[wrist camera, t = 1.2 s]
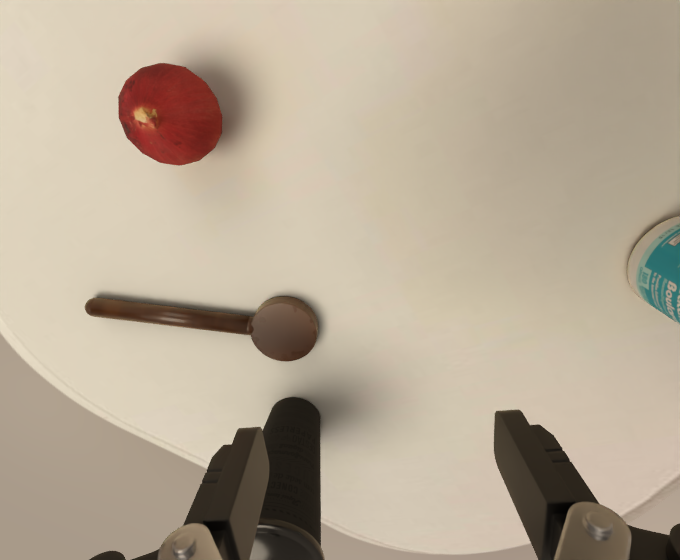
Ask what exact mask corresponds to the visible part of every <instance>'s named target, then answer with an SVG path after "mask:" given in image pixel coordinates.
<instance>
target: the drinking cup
mask: <svg viewBox="0 0 680 560" xmlns="http://www.w3.org/2000/svg"><path fill="white" fill-rule="evenodd" d="M262 432H263V437H264V441H265V446H266V451H267V455H268V460H269V480H268V484H267V488H266V493H265V497H264V501H263V505H262V509H261V514H260V518H259V522H258V526H257V530H256V535H255V539H254V543H253V547H252V551H251V556H250V560H324V555H323V551H322V549H321V527H320V526H321V502H320V414H319V412H318V410H317V408H316V407H315V406H314V405H313V404H312V403H310V402H309V401H307V400H304V399H301V398H286V399H283V400H281V401H279V402H278V403H276V404H275V405H274V407H273V408H272V410H271V412H270V415H269V417H268V419H267V422H266V424H265V427H264V429H263V431H262Z"/></svg>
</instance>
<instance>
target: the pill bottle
mask: <svg viewBox="0 0 680 560" xmlns="http://www.w3.org/2000/svg"><path fill="white" fill-rule="evenodd" d="M627 276H628V281H629V284H630V286H631V288H632V289H633V291H634V292H635V293H636V294H637V295H638V296H639V297H640V298H641V299H643V300H644V301H646V302H647V303H649V304H650V305H652V306H653V307H655V308H656V309H658V310H659V311H661V312H662V313H664V314H665V315H667V316H668V317H670V318H671V319H673V320H674V321H676V322H677V323H679V324H680V216H677V217H674V218H671V219H668V220H666V221H664V222H662V223H660V224H658V225H657V226H655V227H654V228H652V229H651V230H650V231H649V232H647V233H646V234H645V235H644V236H643V237H642V238H641V239H640V241H639V242H638V243H637V244H636V246H635V248H634V249H633V251H632V253H631V255H630V258H629V261H628V266H627Z"/></svg>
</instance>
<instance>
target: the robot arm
mask: <svg viewBox="0 0 680 560" xmlns="http://www.w3.org/2000/svg"><path fill="white" fill-rule="evenodd" d="M494 454H495V459H496V463H497V466H498V469H499V471H500V473H501V475H502V478H503V480H504V482H505V485H506V487H507V489H508V491H509V494H510V496H511V498H512V500H513V503H514V505H515V507H516V510H517V512H518V514H519V516H520V519H521V521H522V523H523V525H524V528H525V530H526V532H527V535H528V537H529V539H530V541H531V544H532V546H533V548H534V550H535V553H536V555H537V557H538V560H680V524H677V525H675V526H674V527H673V528H672V529H671V531H670V535H665V534H661V533H656V532H651V531H647V530H643V529H639V528H635V527H632V526H629V525H627V524H626V522H625V521H624V520H623V519H622V518H621V517H620V516H619V515H618V514H617V513H615V512H614V511H612V510H611V509H609V508H607V507H605V506H603V505H600V504H599V503H598V501H597V500H596V498H595V497H594V495H593V494H592V492H591V491H590V489H589V488H588V486H587V485H586V483H585V482H584V480H583V479H582V477H581V476H580V474H579V473H578V471H577V470H576V468H575V467H574V465H573V464H572V462H570V460H569V458H568V456H567V455H566V453H565V452H564V451H563V450H562V447H561V446H560V444H559V443H558V441H557V440H556V438H555V437H554V435H552V434H551V433H550V432H548V431H547V430H546V429H544V428H543V427H542V426H541V425H529V423H528V421H527V420H526V418H525V416H524V415H523V413H522V412H521V411H520V410H506V411H496V413H495V426H494ZM268 480H269V460H268V455H267V451H266V446H265V441H264V437H263V432H262V429H261V427H252V428H239V429H238V430H237V432H236V435H235V438H234V440H233V443H232V445H223V446H222V447H221V448H220V449H219V450H218V452H217V453H216V454H215V455H214V456H213V457H212V459H211V462H210V464H209V466H208V469H207V473H205V476H204V478H203V480H202V484H201V485H200V488H199V490H198V492H197V494H196V497H195V499H194V502H193V504H192V506H191V508H190V511H189V513H188V515H187V518H186V520H185V523H184V525H183V526H182V527H180V528H178V529H177V530H175V531H174V532H172V533H171V534H170V535H169V536H168V537H167V538H166V539H165V541H164V542H163V544H162V545H161V547H160V549H158V550H156V551H154V552H152V553H149V554H146V555H143V556H140V557H138V558H135V559H132V560H250V556H251V551H252V547H253V543H254V539H255V535H256V530H257V526H258V522H259V518H260V514H261V509H262V505H263V501H264V497H265V493H266V488H267V484H268ZM90 560H126V559H125V557H124V555H123V554H121V553H120V552H117V551H108V552H104V553H101V554H99V555H97V556H95V557H93V558H91V559H90Z"/></svg>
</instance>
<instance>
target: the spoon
mask: <svg viewBox="0 0 680 560" xmlns="http://www.w3.org/2000/svg"><path fill="white" fill-rule="evenodd" d="M85 310H86V312H87V313H88V314H89V315H91V316H94V317H102V318H111V319H119V320H127V321H136V322H144V323H152V324H161V325H169V326H177V327H186V328H194V329H202V330H211V331H219V332H227V333H236V334H244V335H251V337H252V340H253V342H254V344H255V346H256V347H257V348H258V349H259V350H260V351H261V352H262V353H263V354H264V355H266V356H268V357H270V358H272V359H275V360H279V361H293V360H297V359H300V358H302V357H304V356H305V355H307V354H308V353H309V352H310V351H311V350H312V348H313V347H314V345H315V343H316V339H317V334H318V321H317V317H316V315H315V313H314V312H313V310H312V309H311V308H310V307H309V306H308V305H307V304H306V303H304V302H303V301H301V300H299V299H297V298H293V297H288V296H279V297H275V298H271V299H269V300H267V301H266V302H264V303H263V304H262V305H261V306H260V307H259V308H258V310H257V311H256V313H255V315H254V317H252V316H246V315H237V314H229V313H221V312H213V311H204V310H196V309H188V308H179V307H171V306H163V305H154V304H146V303H138V302H130V301H121V300H113V299H105V298H92V299H90V300H88V301H87V303H86V305H85Z"/></svg>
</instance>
